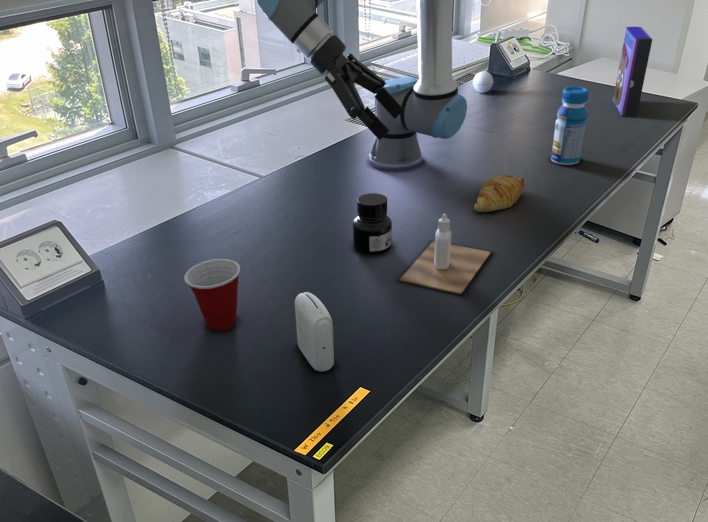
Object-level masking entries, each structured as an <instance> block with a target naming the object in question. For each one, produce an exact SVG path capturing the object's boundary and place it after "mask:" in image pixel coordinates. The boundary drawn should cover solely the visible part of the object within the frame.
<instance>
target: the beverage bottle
mask: <svg viewBox="0 0 708 522" xmlns="http://www.w3.org/2000/svg"><path fill="white" fill-rule="evenodd" d="M589 93H590V92H589V89H588V88H586V87H583V86H567V87H564V88H563V91H562V96H561V102H562V104H561V105H560V107H559V108H558V110H557V113H556V117H557V119H556V120H555V122H554V134H553V142H552V149H551V153H550V160H551V162H553V163H554V164H556V165H561V166H573V165H576V164H578V163H580V162H581V156H582V155H581V154H582V151H583V150H582V149H583V145H584V139H585V138H584V137H585V133H586V128H587V118H588V115H589V114H588V109H587V107H586V105H585V104H587V102H588V99H589Z"/></svg>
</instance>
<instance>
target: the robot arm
mask: <svg viewBox="0 0 708 522" xmlns="http://www.w3.org/2000/svg"><path fill="white" fill-rule="evenodd" d="M324 2H326V0H256V4H257V6H258V7H259V9H260V10H261V12H262V13H263V14H264V15H265V16H266V18H267V19H268V21H270V22H271V23H272V24H273V25H274V26H275V28H277V29H278V30H279V31H280V32H281V33H282V34H283V35H284V37H285V38H286V39H287V40H288V41H289V42H290V43H291V44H292V45H293V46H294V47H295V48H296V52H297V53H301V55H302V56H303V57H304V58H305V59H309V64H311V66H312V67H313V68H314V69H315V70H316V71H317V72H318V73H319V74H320V75H324V74H325V73H326V72H328V73H327V74H326V75H325V76H324V80H325V81H326V82H327V84H328V85H329V86H330V87H331V89H332V90H333V92H334V94H335V95H336V97H337V98H338V100H339V101H340V103H341V105H342V107H343V108H344V110H345V111H346V113H347V115H348V116H349V117H350V118H351V119H352V120H355V119H356V118H358V119H359V120H360V121H361V122H362V123H363V124H364V125H365V126H366V128H367V129H368V130H369V131H370V132H371V133H372V134H373V135H374V139H373V142H372V145H371V150H370V151H369V154H368V158H369V164H370V166H372V167H374V168H376V169H378V170H384V171H393V172H395V171H397V172H398V171H407V170H410V169H414V168H416V167H418V166H419V165H421V163H422V162H423V161H422V160H423V159H422V158H423V154H422V151H421V147H420V143H419V141H418V137H417V134H420V135H425V136H428V137H432V138H433V139H443V140H448V139H450V138H452V137H454V136H455V135H456V134H457V133H458V132H459V130H461V127H462V125H463V124H464V122H465V119H466V116H467V111H468V101H467V100H466V98H465V96H463V95H461V94H459V83H458V82H457V81H456V80H455V79H454V78H453V0H416V19H417V20H416V21H417V23H416V24H417V25H416V26H417V52H418V53H417V55H418V57H417V58H418V79H417V78H415V77H411V76H409V77H407V76H405V77H396V78H390V79H386V80H384V79H383V78H382V77H380V76H379V75H378V74H376V73H375V72H374V71H372V69H370V68H369V67H367V66H366V65H365V64H364V63H362V62H361V61H360V60H358V59H357V58H356V57H355V56H354V55H353V54H352V53H351V52H350V53H348V54H347V56H345V55H344V53H345V51H346V49H347V46H346V44H345V43H344V42H343V41H342V40H341V38H340V37H339V36H338V35H337V34H332V33H333V29H332V28H331V27H330V26H329V25H328V24H327V23H326V21H324V19H323V18H322V17H321V16H320V15H319V14H318V13H317V12H316V11H315V10H317V8H319V6H320V5H322V4H323V3H324ZM355 84H356V85H358V86H360V87H361V88H363V89H365V90H367V91H368V92H370V93H372V94H373V95H374V112H373V110H372V109H370V107H369V106H366V107H365V104H364V102H363V100H362V98H361V96H360V93H359V92H358V90H357V87H356V85H355Z"/></svg>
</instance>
